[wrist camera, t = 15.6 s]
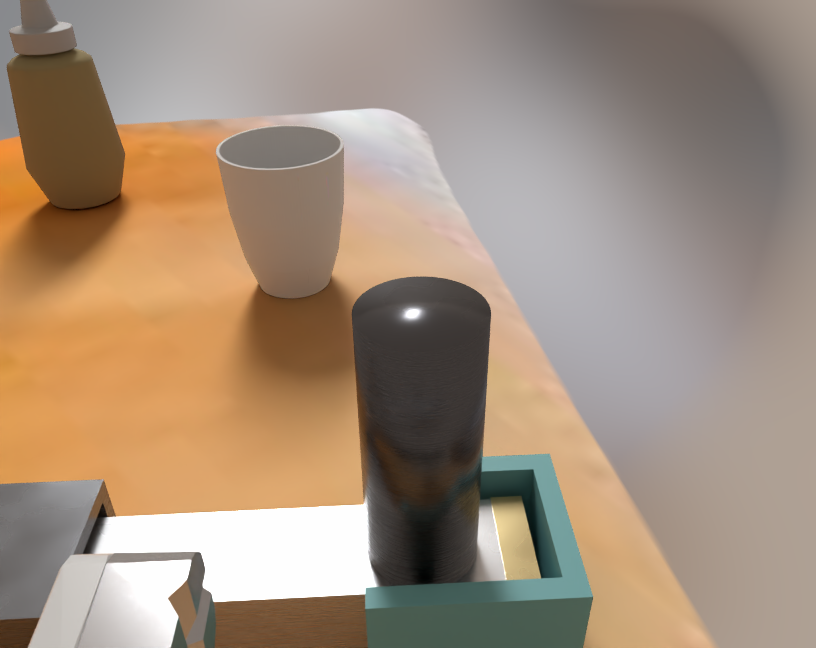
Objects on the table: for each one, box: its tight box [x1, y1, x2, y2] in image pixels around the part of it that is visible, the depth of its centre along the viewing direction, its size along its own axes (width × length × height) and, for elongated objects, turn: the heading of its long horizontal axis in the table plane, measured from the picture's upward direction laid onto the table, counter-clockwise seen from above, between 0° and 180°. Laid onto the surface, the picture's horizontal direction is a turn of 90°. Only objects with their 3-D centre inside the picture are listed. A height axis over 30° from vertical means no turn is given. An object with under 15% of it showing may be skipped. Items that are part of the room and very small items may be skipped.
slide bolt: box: [83, 277, 541, 648], centre depth 25 cm, size 17×4×14 cm, turn 93°
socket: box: [365, 454, 593, 648], centre depth 28 cm, size 7×7×6 cm
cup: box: [216, 125, 344, 298], centre depth 50 cm, size 8×8×10 cm
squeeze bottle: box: [7, 0, 125, 209], centre depth 61 cm, size 8×8×18 cm
